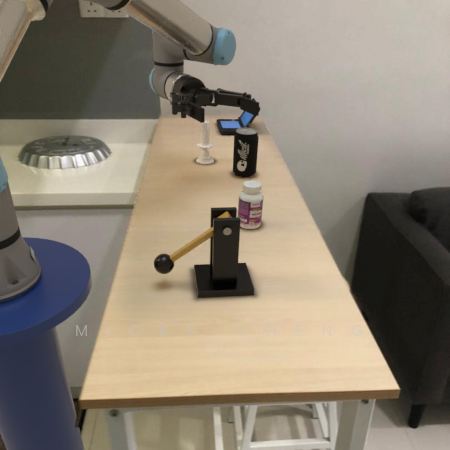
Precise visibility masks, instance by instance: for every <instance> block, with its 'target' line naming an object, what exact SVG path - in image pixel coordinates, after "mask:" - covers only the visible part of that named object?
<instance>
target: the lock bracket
mask: <svg viewBox="0 0 450 450" xmlns="http://www.w3.org/2000/svg"><path fill="white" fill-rule="evenodd" d="M226 211H228V213H229V214H230V215H231V217H232V218H217V217H219V216H220V215H222V214H223V213H225V212H226ZM240 222H241V220H240V217H238V207H236V206H226V207H225V206H224V207H223V206H221V207H210V226H209V229H210V228H212V227H213V236H212V237H211V238H209V263H203V264H202V263H200V264H193V274H194V280H195V287H196V288H195V289H196V294H197V298H218V297H237V296H254V295H255V287H254V284H253V281H252V278H251V275H250V272H249V268H248V265H247V262H239V257H240V255H239V254H240V240H241V239H240V237H241V227H240Z"/></svg>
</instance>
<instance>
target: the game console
mask: <svg viewBox="0 0 450 450" xmlns="http://www.w3.org/2000/svg"><path fill="white" fill-rule="evenodd" d="M251 100H254V101H256V99H255V98H254V97H253V98H251ZM242 111H243V110H242ZM260 111H261V106H259V112H260ZM256 117H257V116H255V115H252V114H250V113H248V112H246V111H243V112H242V113H241V114H240V116H238V117H237V118H218V119H216V121H215V122H216V125H217V129H218V131H219V134H220V135H235V133H236V129H238V128H250V126H251V124H252V123H253V122H254V121H255V119H256Z"/></svg>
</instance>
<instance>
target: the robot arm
mask: <svg viewBox="0 0 450 450" xmlns="http://www.w3.org/2000/svg"><path fill="white" fill-rule="evenodd" d="M53 1H54V0H0V83H1V82H2V80H3V78H4V76H5V74H6V72H7V70H8V68H9V66H10V64H11V62H12V60H13V58H14V56H15V54H16V52H17V50H18V48H19V46H20V44H21V42H22V40H23V39H24V36H25V34H26V33H27V30H28V28H29V26H30V24H31V22H35V21H41V20H42V21H43V20H44V18H45V17H46V15H47V13H48V11H49V9H50V7H51V5H52V3H53ZM83 1H85V2H90V3H94V4H97V5H99V6H101V7H103V8H104V9H106V10H108V11H111V12H119V11H121V12H123V13H124V14H126V15H127V16H129V17H131V18H132V19H134V20H136V21H137V22H139V23H140V24H142V25H144V26H145V27H147V28H149V29H150V30H151V31H152V32H151V36H152V48H153V49H152V50H153V52H152V53H153V68H152V69H151V71H150V73H149V76H148V83H149V87H150V89H151V90H152V92H154V93H155V94H156V95H157V96H158V97H159V98H161V99H165V100H167V101H169V105H170V106H171V113H172V115H173V116H177V115H178V114H179V113H180V118H181V119H186V118H187V116H188V117H190V118H192V119H194V120H195V121H197V122H200V123H203V122H204V120H205V112H206V111H205V108H206V107H213V108H214V107H215V108H217V107H218V106H224V107H233V108H239V109H240V110H241V111H246V112H248V113H250V114H252V115H255V116H256V117H257V116H259V113H260V111H259V107H260V102H258V101H256V100H255V101H254V100H252V94H251V93H247V91H244V92H239V91H232V90H227V89H223V88H221V87H218V88H216V89H212V88H211V89H210V88H208V87H206V85H205V83H204V82H203V81H202V79H199V78H198V77H195V76H193V75H191V74H188V73H186V72H185V61H190V62H197V63H202V64H209V65H214V66H228V65H230V64H231V63H232V61H233V60H234V58H235V55H236V51H237V38H236V36H235V33H234V32H233V31H232V30H231V29H228V28H223V27H216V26H214V25H213V24H211V23H210V22H208V21H207V20H206V19H204V18H203V17H202V16H201V15H199V14H198V13H197V12H195V11H194V10H193V9H192V8H191V7H189V6H188V5H187V4H186V3H184V2H183V1H181V0H83ZM204 107H205V108H204ZM19 224H20V223H19V221H18V216H17V211H16V207H15V205H14V200H13V196H12V193H11V188H10V184H9V175H8V172H7V170H6V167H5V165H4V162H3V159H2V157H1V156H0V304H2V303H6V302H9V301H12V300H15V299H17V298H20V297H22V296H23V295H25V294H27V293H29V292H30V291H31V290H33V289H34V288H35V287H36V286H37V285H38V283H39V282H40V280H41V277H42V272H41V267H40V264H39V262H38V260H37V258H36V257H35V255H34V251H33V249H32V248H31V246H30V248H29V246H28V245H27V243H26V242H25V240H24V239H23V235H22V233H21V228H20V225H19Z"/></svg>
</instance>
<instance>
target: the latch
mask: <svg viewBox="0 0 450 450" xmlns="http://www.w3.org/2000/svg"><path fill="white" fill-rule="evenodd" d="M217 218H232V217H231V215H230V214H229V213H228V211H226V212H225V213H223V214H222V215H220V216H219V217H217ZM212 236H213V227H212V228H210V227H209V229H207V230H206V231H204V232H203V233H201V234H200V235H198V236H196V237H195V238H193V239H192V240H191V241H189V242H188V243H186V244H185V245H183V246H182V247H180V248H179V249H176V251H174V252H173V253H171V254H168V253H160V254H158V255H157V256H156V257H155V258H154V260H153V267H154V269H155V271H156V272H157V273H159V274H161V275H168V274H169V273H171V272H172V271H173V270H174V268H175V262H176V261H178V260H179V259H181V258H182V257H184V256H185V255H187V254H188V253H190V252H191V251H192V250H195V249H196V248H197V247H198V246H200V245H202V244H203V243H205V242H206V241H207V240H210V238H211V237H212Z"/></svg>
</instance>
